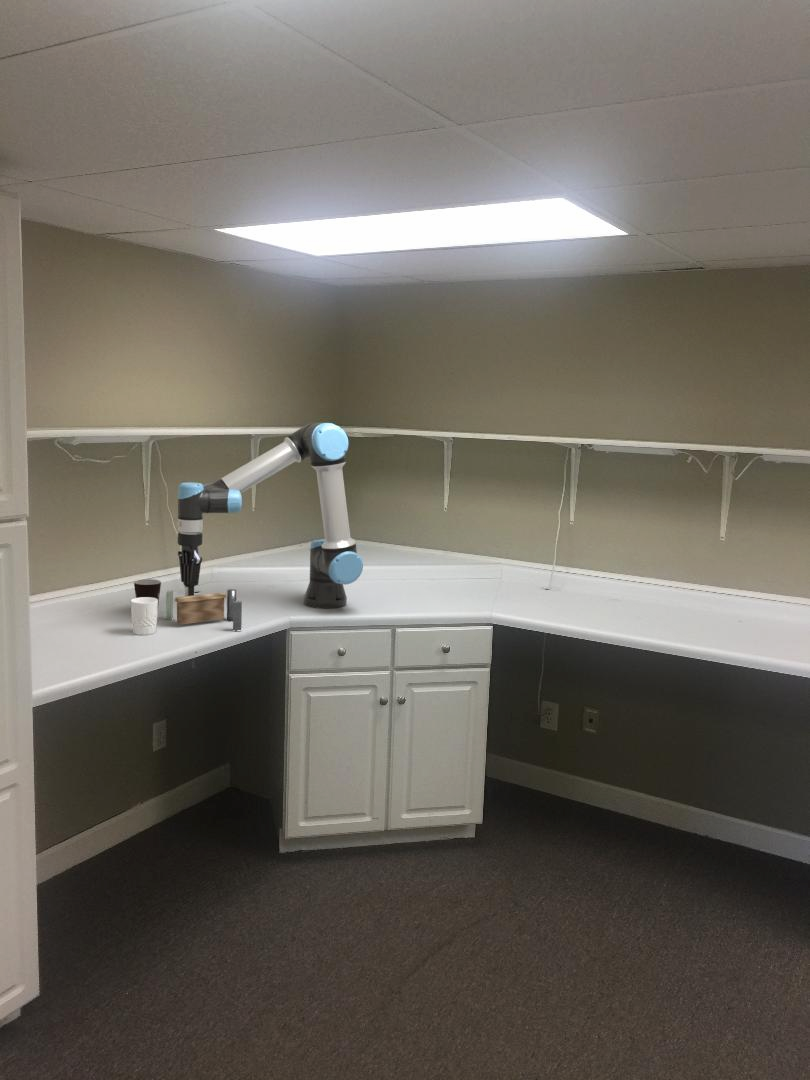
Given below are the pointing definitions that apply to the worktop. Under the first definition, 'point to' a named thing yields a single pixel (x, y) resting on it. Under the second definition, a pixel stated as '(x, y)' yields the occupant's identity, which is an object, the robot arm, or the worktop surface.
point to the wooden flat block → (200, 608)
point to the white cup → (144, 615)
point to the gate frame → (232, 608)
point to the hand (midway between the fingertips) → (189, 605)
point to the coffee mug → (147, 588)
